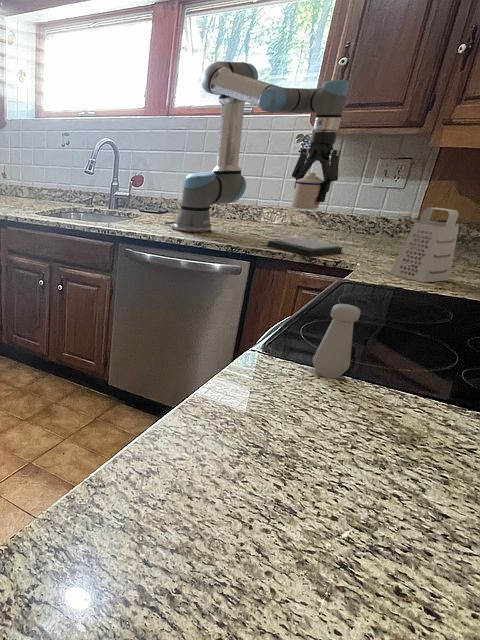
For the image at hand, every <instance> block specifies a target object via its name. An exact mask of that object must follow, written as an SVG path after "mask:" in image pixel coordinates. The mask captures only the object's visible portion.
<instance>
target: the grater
mask: <svg viewBox="0 0 480 640" xmlns="http://www.w3.org/2000/svg"><path fill="white" fill-rule="evenodd" d="M435 210H440V211H446V212H447V213H448V217H447V219H446V223H445V222H439V221H431V217H432V214H433V211H435ZM422 211H423V212H422V214H421V217H420V220H419V221H416V222H414V223H413V226H412V227H411V229H410V232H409V234H408V236H407V238H406V239H405V242H404V243H403V245H402V247H401V249H400V251H399V253H398V255H397V257H396V259H395V261H394V263H393V264H392V267H391V269H390V270H389V274H390V275H394V276H398V277H401V278H404V279H409V280H412V281H416V282H420V283H430V282H431V283H432V282H442V281H443V282H444V281H450V277H451V272H452V267H453V261H454V256H455V250H456V245H457V240H458V235H459V229H460V225H458V224H456V223H457V221H458V218H459V215H460V214H459V211H458V210H456V209H450V208H443V207H427V208H425V209H424V210H422ZM415 249H416V250H415ZM409 273H410V274H409ZM413 274H414V275H413Z"/></svg>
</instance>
